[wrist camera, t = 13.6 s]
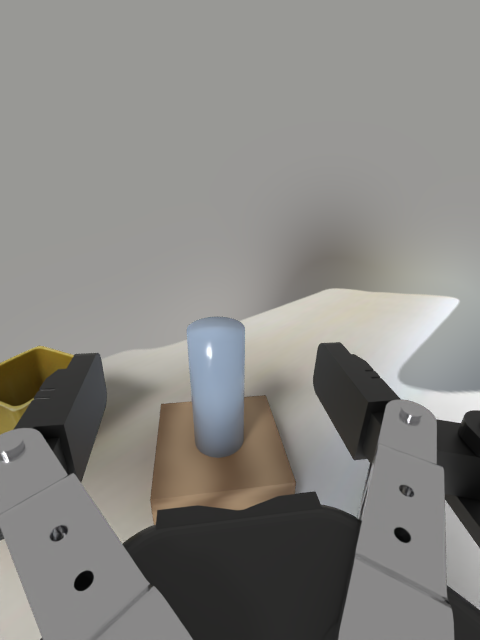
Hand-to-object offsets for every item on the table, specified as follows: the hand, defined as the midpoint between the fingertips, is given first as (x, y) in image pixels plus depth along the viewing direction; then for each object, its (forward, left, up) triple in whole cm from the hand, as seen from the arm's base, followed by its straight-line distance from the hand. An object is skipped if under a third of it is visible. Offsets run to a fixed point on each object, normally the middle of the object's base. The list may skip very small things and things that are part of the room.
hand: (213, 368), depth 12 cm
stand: (+1, +15, -20) cm, 25 cm away
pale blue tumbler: (+1, +14, -17) cm, 23 cm away
